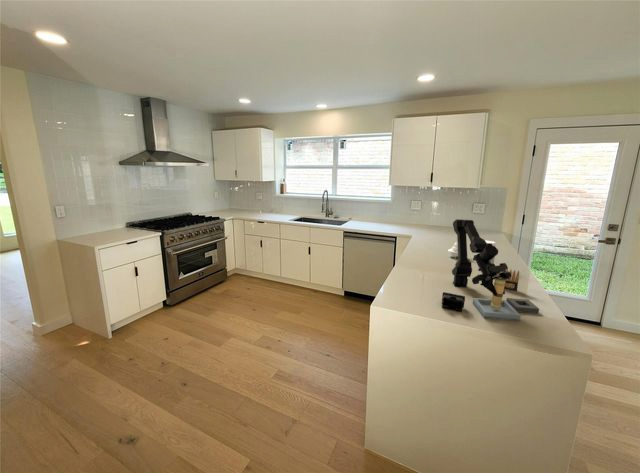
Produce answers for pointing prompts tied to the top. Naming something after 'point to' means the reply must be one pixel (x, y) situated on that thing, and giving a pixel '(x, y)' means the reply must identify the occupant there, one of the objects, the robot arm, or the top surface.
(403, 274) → the top surface
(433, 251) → the top surface
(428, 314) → the top surface
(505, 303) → the parts tray
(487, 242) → the jar
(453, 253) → the mechanical part
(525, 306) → the block
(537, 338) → the top surface
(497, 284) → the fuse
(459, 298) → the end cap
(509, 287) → the ammunition clip
